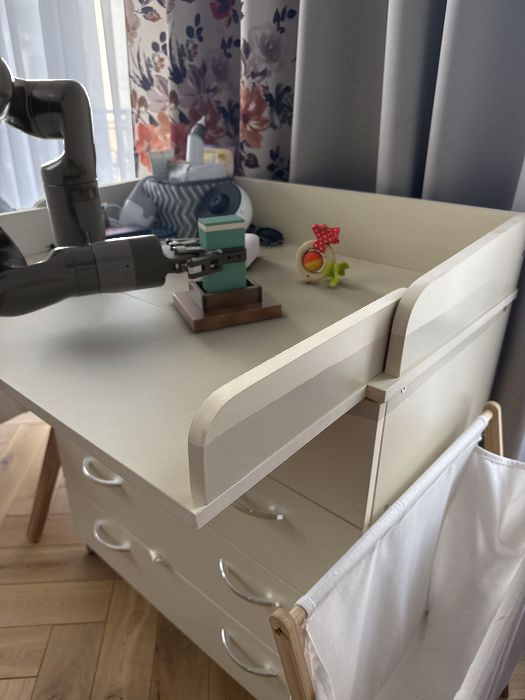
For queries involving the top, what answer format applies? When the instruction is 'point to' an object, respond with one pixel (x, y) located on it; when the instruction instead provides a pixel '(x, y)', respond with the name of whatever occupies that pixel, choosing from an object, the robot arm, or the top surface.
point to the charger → (251, 247)
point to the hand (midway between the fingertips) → (240, 249)
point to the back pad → (221, 236)
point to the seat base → (225, 306)
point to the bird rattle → (320, 256)
